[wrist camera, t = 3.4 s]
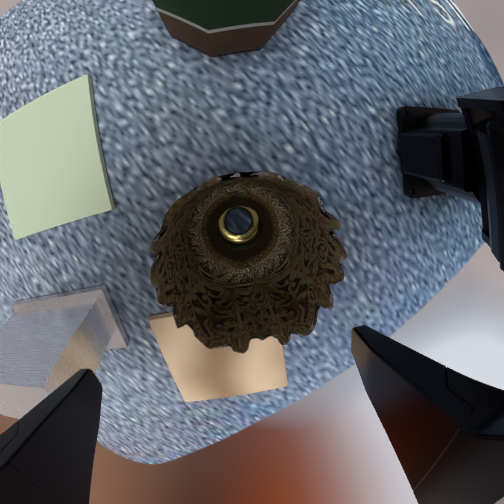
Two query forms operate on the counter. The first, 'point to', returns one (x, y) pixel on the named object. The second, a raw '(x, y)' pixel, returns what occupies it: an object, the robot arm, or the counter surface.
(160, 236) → the brown ornate lampshade
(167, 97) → the counter surface
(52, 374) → the box
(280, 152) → the counter surface
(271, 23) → the beer bottle
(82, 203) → the sage mat
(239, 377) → the oak mat
